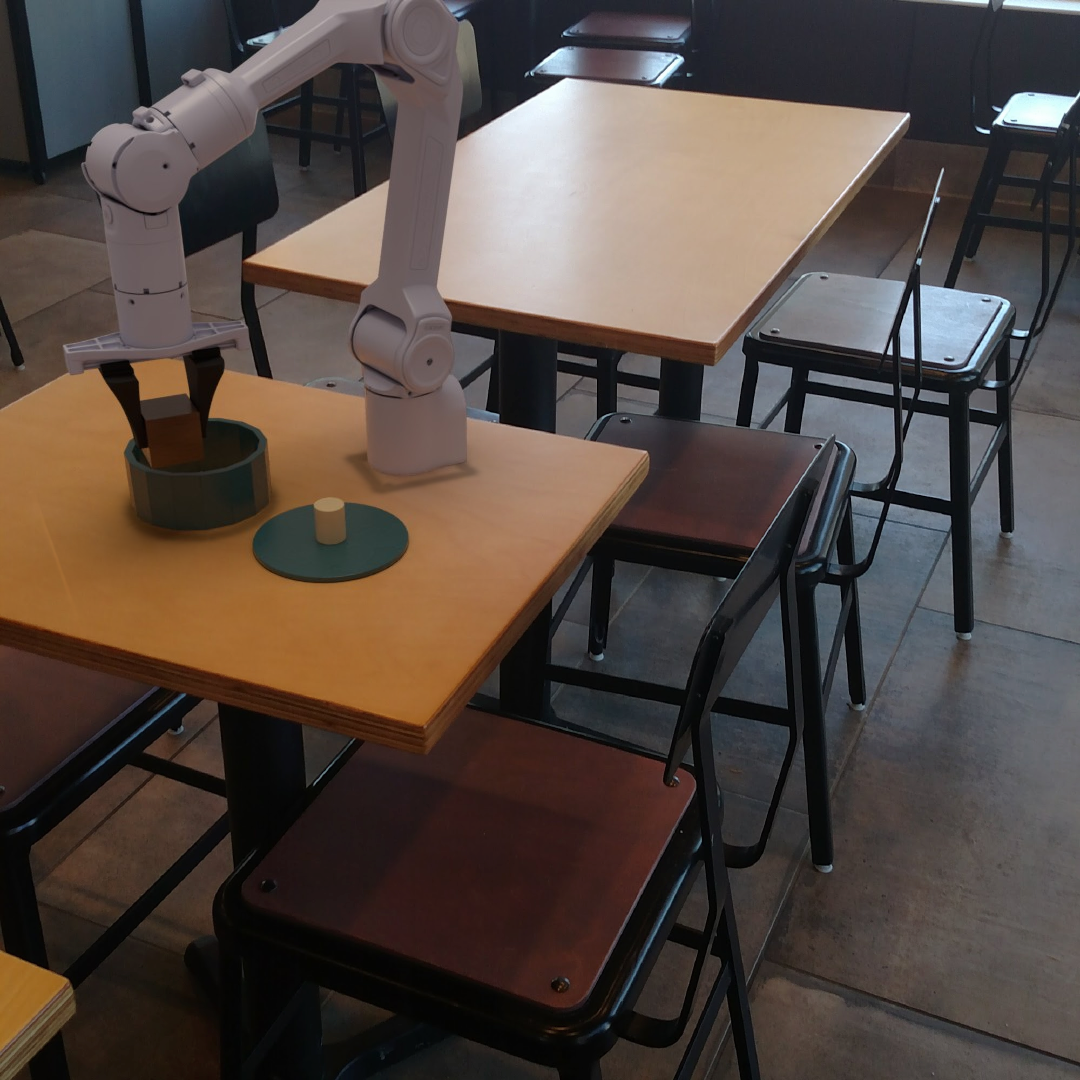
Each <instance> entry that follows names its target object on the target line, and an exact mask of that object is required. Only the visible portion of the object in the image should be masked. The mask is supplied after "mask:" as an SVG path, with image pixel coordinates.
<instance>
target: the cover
mask: <svg viewBox="0 0 1080 1080" xmlns="http://www.w3.org/2000/svg"><path fill="white" fill-rule="evenodd" d="M409 536H410V535H409V531H408V529H407V526H406V525H405V523H404V522H403V521H402V520H401V519H400V518H398V517H397V516H396V515H394V514H393V513H391V512H389V511H387V510H385V509H382V508H379V507H376V506H373V505H369V504H363V503H357V502H347V501H344V500H343V499H341V498H338V497H331V496H329V497H322V498H319V499H318V500H316V501H315V502H314V503H313V504H307V505H301V506H297V507H294V508H291V509H288V510H285V511H283V512H281V513H279V514H277V515H275V516H273V517H271V518H270V519H268V520H267V521H265V522H264V523H263V524H261V526H259V528H258V529H257V531H256V532H255V533H254V536H253V538H252V552H253V555H254V558H255V559H256V560H257V561H258V562H259V564H260V565H261V566H262V567H263V568H265V569H266V570H268V571H270V572H272V573H273V574H276V575H278V576H281V577H283V578H287V579H290V580H295V581H302V582H309V583H338V582H346V581H352V580H357V579H362V578H364V577H365V578H366V577H368V576H369V577H370V576H372V575H374V574H377V573H379V572H381V571H384V570H385V569H387V568H389V567H391V566H393V565H394V564H395V563H396V562H398V561H399V560H400V559H401V558H402V557H403V556H404V554H405V553H406V551H407V549H408V546H409V541H410V539H409V538H410V537H409Z"/></svg>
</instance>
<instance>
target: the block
mask: <svg viewBox="0 0 1080 1080" xmlns="http://www.w3.org/2000/svg"><path fill="white" fill-rule="evenodd" d="M140 405H141V414H142V420H143V424H144V428H145V434H146V444H147V448H144V449H142V451H143V453H144V455H145V457H146V458H147V460H148V462H149V464H150V466H151V467H152V469H154V468H160V467H165V466H171V465H176V464H182V463H187V462H193V461H198V460H204V459H205V458H204V449H203V441H202V433H201V424H200V416H199V411H198V410H197V408H196V407H195V406H194V404H193V403H192V401H191V400H190V396H189V394H187V393H185V392H184V393H178V394H173V395H167V396H161V397H154V398H148V399H147V398H146V399H142V400H141V399H140Z"/></svg>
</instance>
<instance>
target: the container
mask: <svg viewBox="0 0 1080 1080" xmlns="http://www.w3.org/2000/svg"><path fill="white" fill-rule="evenodd" d="M202 441H203V449H204V458H205V459H204V460H198V461H193V462H187V463H182V464H176V465H171V466H165V467H160V468H154V469H152V467H151V466H150V464H149V462H148V460H147V458H146V457H145V455H144V453H143V451H142V449H139V448H138V447H137V445H136V443H135V441H134V438H133V437H132V438H130V439H129V440H128V443H127V445H126V446H125V449H124V451H123V457H124V464H125V470H126V477H127V484H128V491H129V497H130V505H131V507H132V509H133V512H134V513H135V516H136V517H137V518H139V519H140V520H142V521H144V522H146V523H148V524H149V525H151V526H153V527H157V528H162V529H168V530H172V531H209V530H213V529H218V528H224V527H228V526H233V525H236V524H238V523H241V522H243V521H245V520H248V519H251V518H252V517H255V516H257V515H258V514H259V513H260V512H261V511H262V510H264V508H265V507H267V506H268V505H269V504H270V502H271V498H272V497H271V496H272V492H273V488H272V477H271V466H270V465H271V463H270V455H269V442H268V438H267V437H266V436H265V434H264V433H263V432H262V430H261V429H260V428H258V427H256V426H254V425H251V424H249V423H247V422H245V421H243V420H241V421H240V420H235V419H231V418H230V419H229V418H223V417H209V418H208V424H207V437H206V438H202Z"/></svg>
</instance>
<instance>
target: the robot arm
mask: <svg viewBox="0 0 1080 1080" xmlns="http://www.w3.org/2000/svg"><path fill="white" fill-rule="evenodd" d="M459 29H460V23H459V21H458V19H457V18H456V17H455V16H454V14H453V13H452V11H451V10H450V9H449V8H448V6H447V5H446V3H445V2H444V1H443V0H319V1H318V2H317V3H316V4H315V6H314V7H313V8H312V9H311V10H310V11H309V12H307V13H306V14H304V15H303V16H302V17H301V18H300V19H298V20H297V21H296V22H294V23H293V24H291V26H289V27H288V28H286V30H284V31H283V32H282V33H280V34H279V35H278V36H276V37H275V38H274V39H272V40H271V41H270V42H269V43H267V44H266V45H265V46H263V47H262V48H261V49H260V50H258V51H257V52H256V53H254V54H253V55H251V56H250V57H249V58H248V59H247V60H245V61H244V62H242V63H241V64H239V66H237V67H236V68H234V69H233V70H232V71H231V72H227V71H222V69H221V70H220V69H217V68H211V67H209V68H206V69H204V70H203V71H201V70H198V69H195V68H191V69H190V70H188V71H186V72H185V73H184V74H182V75H181V77H180V80H181V82H182V83H183V84H182V85H181V86H179V87H178V88H177V89H174V91H172V92H171V93H168V94H167V95H166V96H165V97H163V98H162V99H160V100H159V101H157V102H156V103H154V104H152V105H151V106H149V107H146V106H142V105H141V106H139V107H138V108H136V109H135V110H133V111H132V117H133V119H132V122H131V124H129V123H124V122H122V123H116V122H115V123H111V124H108V125H106V126H105V127H102V128H101V129H99V131H97V132H96V133H95V134H94V135H93V136H92V138H91V140H90V142H91V144H90V145H88V146H87V150H86V152H85V153H86V154H85V162H82V163H81V165H80V166H81V170H82V174H83V176H84V178H85V180H86V182H87V183H88V185H89V186H90V187H91V188H92V189H93V190H94V191H95V192H96V193H97V194H98V195H99V199H100V206H101V213H102V219H103V227H104V236H105V242H106V250H107V257H108V264H109V270H110V277H111V284H112V288H113V295H114V302H115V308H116V315H117V324H118V329H119V331H116V332H113V333H108V334H105V335H102V336H98V337H94V338H90V339H87V340H83V341H78V342H73V343H66V344H62V350H63V356H64V362H65V367H66V370H67V372H68V374H69V375H70V376H76V375H83V374H84V373H85V371H90V370H91V371H92V370H96V369H97V370H98V371H99V373H100V376H101V377H102V379H103V380H104V382H105V384H106V386H107V387H108V388H109V389H110V391H111V392H112V394H113V395H114V397H115V398H116V400H117V402H118V403H119V405H120V406H121V408H122V410H123V412H124V415H125V417H126V420H127V421H128V425H129V427H130V430H131V434H132V438H134V441H135V443H136V445H137V447H138V448H139V449H144V448H147V444H146V434H145V428H144V424H143V420H142V414H141V405H140V401H141V395H140V381H139V380H138V378H137V376H136V375H135V369H134V368H133V366H132V364H137V363H144V362H150V361H151V362H152V361H159V360H165V359H171V358H179V357H182V360H183V364H184V369H185V374H186V380H187V384H188V385H187V386H188V393H189V394H188V396H189V398H190V400H191V401H192V403H193V404H194V406H195V407H196V408H197V410H198V411H199V416H200V424H201V433H202V438H206V437H207V424H208V418H210V412H211V407H212V403H213V399H214V397H215V393H216V391H217V388H218V385H219V383H220V381H221V379H222V377H223V375H224V373H225V368H226V362H225V359H224V357H223V356H222V353H221V351H225V350H232V349H233V350H234V349H235V350H237V351H246V350H250V349H251V343H250V342H251V341H250V332H249V331H250V330H249V327H248V325H247V324H246V323H245V322H244V321H243V320H241V319H240V320H233V321H213V322H212V321H210V322H208V321H207V322H193V318H192V309H191V300H190V293H189V284H188V276H187V267H186V260H185V259H186V258H185V251H184V243H183V235H182V234H183V233H182V225H181V221H180V220H181V219H180V211H179V204H180V203H181V201H182V200H183V199H184V197H185V195H186V194H187V191H188V189H189V186H190V185H189V184H190V180H191V178H192V177H193V176H195V175H196V174H197V173H199V172H200V171H202V170H203V169H205V168H206V167H208V166H209V165H210V164H211V163H213V162H214V161H216V160H217V159H219V158H220V157H222V156H223V155H225V154H226V153H228V152H229V151H230V150H232V149H233V148H235V147H236V146H237V145H239V144H240V143H241V142H243V141H244V140H247V138H249V137H250V136H252V134H254V132H255V130H256V126H257V118H258V112H259V111H260V110H261V109H262V108H264V107H266V106H268V105H269V104H271V103H272V102H275V101H276V100H278V99H279V98H281V97H282V96H284V95H286V94H288V93H289V92H290V91H292V90H294V89H296V88H297V87H299V86H301V85H302V84H304V83H305V82H308V81H309V80H310V79H312V78H314V77H316V76H317V75H319V74H320V73H322V72H324V71H325V70H327V69H329V68H330V67H332V66H333V65H335V64H337V63H347V64H361V65H362V64H363V66H365V67H367V68H368V69H370V70H371V71H372V72H374V73H375V75H376V76H377V77H378V78H379V79H380V81H381V82H382V83H383V84H384V86H385V87H386V88H387V90H388V91H389V92H390V93H391V95H392V96H393V97H394V98H395V100H396V102H397V114H396V121H395V130H394V138H393V148H392V156H391V163H390V165H391V166H390V173H389V181H388V189H387V199H386V205H385V215H384V224H383V231H382V232H383V233H382V238H381V239H382V241H381V249H380V257H379V265H378V273H377V278H376V279H375V280H373V282H371V283H370V284H369V285H368V286H366V287H365V288H364V289H363V290H362V291H361V293H360V299H359V300H360V301H359V306H358V310H357V312H356V313H355V316H354V317H353V319H352V321H351V322H350V326H349V328H348V332H347V346H348V351H349V352H350V354H351V356H352V357H353V359H354V360H355V361H356V362H358V363H359V364H360V365H361V377H363V389H364V391H363V393H364V410H365V411H364V412H365V413H364V415H365V432H366V453H367V464H368V465H369V467H370V468H371V469H373V470H375V471H377V472H378V473H382V474H385V475H389V476H396V477H398V476H399V477H406V476H415V475H421V474H425V473H428V472H430V471H434V470H436V469H439V468H443V467H449V466H454V465H458V464H463V463H466V462H467V461H468V458H467V457H468V444H467V443H468V441H467V440H468V438H467V437H468V435H467V434H468V432H467V431H468V430H467V429H468V423H467V422H468V421H467V420H468V419H467V418H468V417H467V412H468V411H467V403H466V397H465V394H464V391H463V388H462V385H461V383H460V382H459V380H458V379H457V377H456V376H454V375H453V374H451V373H452V370H453V367H454V364H455V357H456V352H455V345H454V342H453V339H452V322H453V316H452V313H451V311H450V309H449V308H448V306H447V304H446V303H445V300H444V299H443V297H442V295H441V293H440V292H439V289H438V280H439V273H440V265H441V258H442V252H443V251H442V250H443V244H444V237H445V230H446V221H447V215H448V208H449V200H450V193H451V185H452V178H453V170H454V164H455V157H456V149H457V142H458V136H459V135H458V134H459V127H460V121H461V120H460V119H461V113H462V112H461V111H462V105H463V97H464V84H463V79H462V74H461V70H460V65H459V60H458V55H457V44H458V38H459V32H460V31H459Z"/></svg>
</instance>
